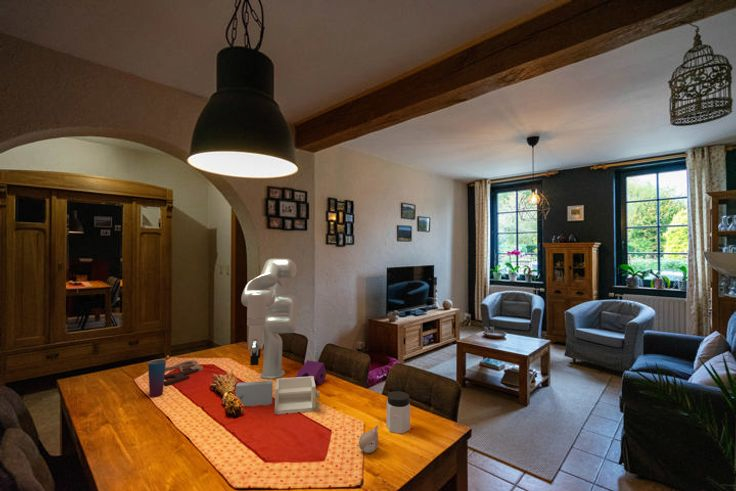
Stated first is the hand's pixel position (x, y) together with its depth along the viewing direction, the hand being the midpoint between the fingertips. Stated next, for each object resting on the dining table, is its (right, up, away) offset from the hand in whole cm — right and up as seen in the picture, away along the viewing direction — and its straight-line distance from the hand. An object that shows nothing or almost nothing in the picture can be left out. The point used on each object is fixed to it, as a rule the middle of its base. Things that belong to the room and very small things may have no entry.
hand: (255, 361), depth 144 cm
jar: (+59, -19, -18) cm, 65 cm away
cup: (-47, -18, +7) cm, 51 cm away
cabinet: (+18, -18, -2) cm, 26 cm away
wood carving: (-52, -19, +36) cm, 66 cm away
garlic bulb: (+48, -18, -33) cm, 62 cm away
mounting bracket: (+18, -20, +21) cm, 34 cm away
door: (0, -18, 0) cm, 18 cm away
